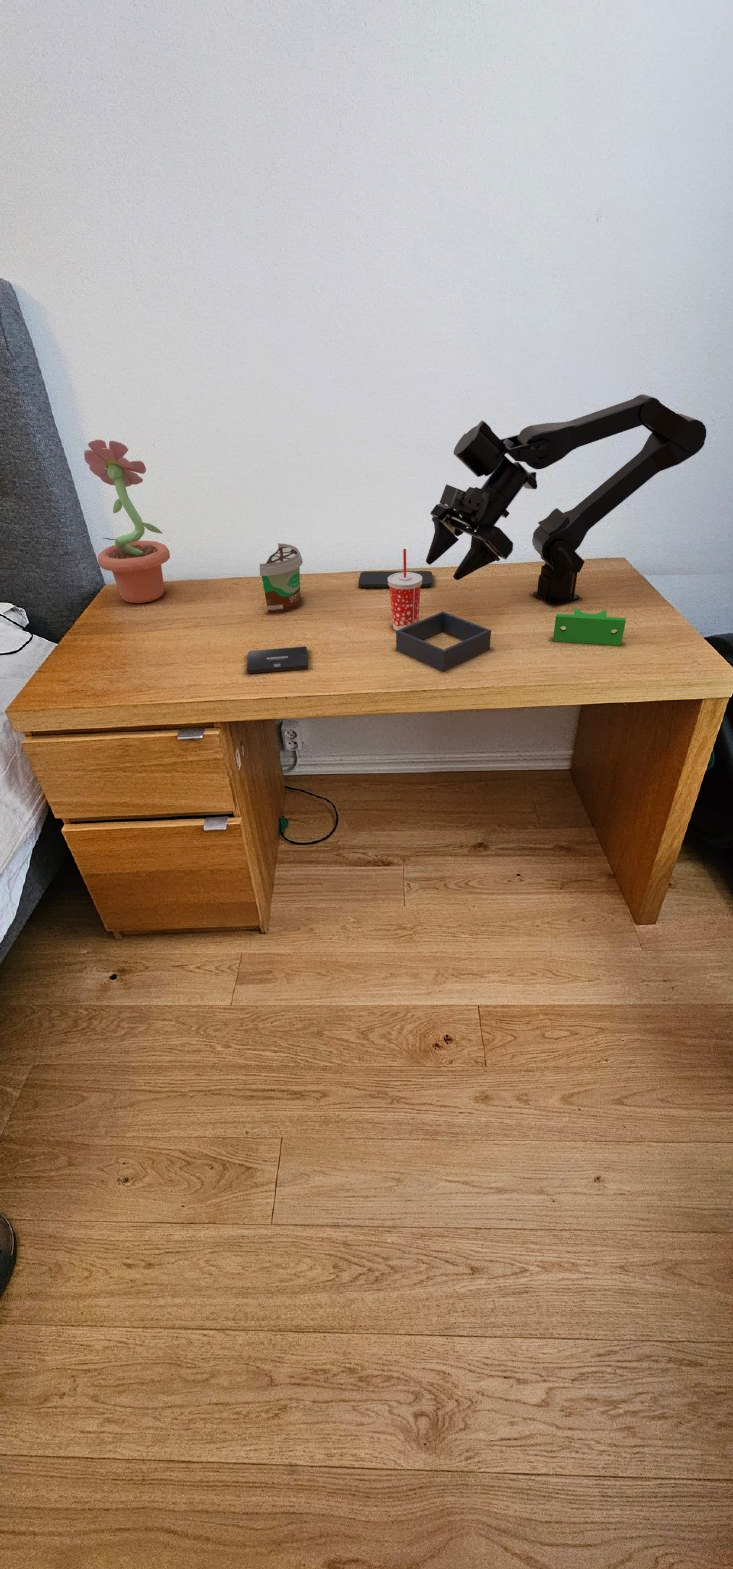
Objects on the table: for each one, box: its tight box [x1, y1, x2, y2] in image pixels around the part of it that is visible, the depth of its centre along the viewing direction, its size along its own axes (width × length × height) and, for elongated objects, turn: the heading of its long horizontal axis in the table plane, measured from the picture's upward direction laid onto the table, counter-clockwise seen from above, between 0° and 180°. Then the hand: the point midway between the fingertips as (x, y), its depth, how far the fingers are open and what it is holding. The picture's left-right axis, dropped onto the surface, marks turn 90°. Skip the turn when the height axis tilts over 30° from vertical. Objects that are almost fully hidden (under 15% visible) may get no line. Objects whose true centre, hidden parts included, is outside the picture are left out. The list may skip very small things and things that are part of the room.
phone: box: [358, 570, 433, 589], centre depth 143 cm, size 7×1×15 cm
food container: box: [259, 543, 304, 614], centre depth 134 cm, size 12×6×10 cm, turn 168°
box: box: [395, 611, 492, 672], centre depth 117 cm, size 11×11×4 cm
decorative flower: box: [83, 439, 171, 604], centre depth 134 cm, size 15×14×30 cm
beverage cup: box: [388, 548, 422, 631], centre depth 122 cm, size 6×6×14 cm
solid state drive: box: [246, 645, 309, 674], centre depth 117 cm, size 7×10×1 cm
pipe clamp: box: [552, 608, 627, 646], centre depth 118 cm, size 11×4×5 cm, turn 76°
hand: (440, 570), depth 123 cm, fingers open, 9 cm apart
